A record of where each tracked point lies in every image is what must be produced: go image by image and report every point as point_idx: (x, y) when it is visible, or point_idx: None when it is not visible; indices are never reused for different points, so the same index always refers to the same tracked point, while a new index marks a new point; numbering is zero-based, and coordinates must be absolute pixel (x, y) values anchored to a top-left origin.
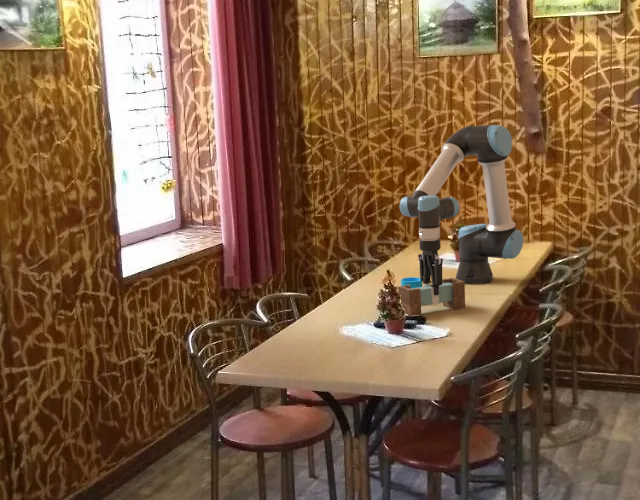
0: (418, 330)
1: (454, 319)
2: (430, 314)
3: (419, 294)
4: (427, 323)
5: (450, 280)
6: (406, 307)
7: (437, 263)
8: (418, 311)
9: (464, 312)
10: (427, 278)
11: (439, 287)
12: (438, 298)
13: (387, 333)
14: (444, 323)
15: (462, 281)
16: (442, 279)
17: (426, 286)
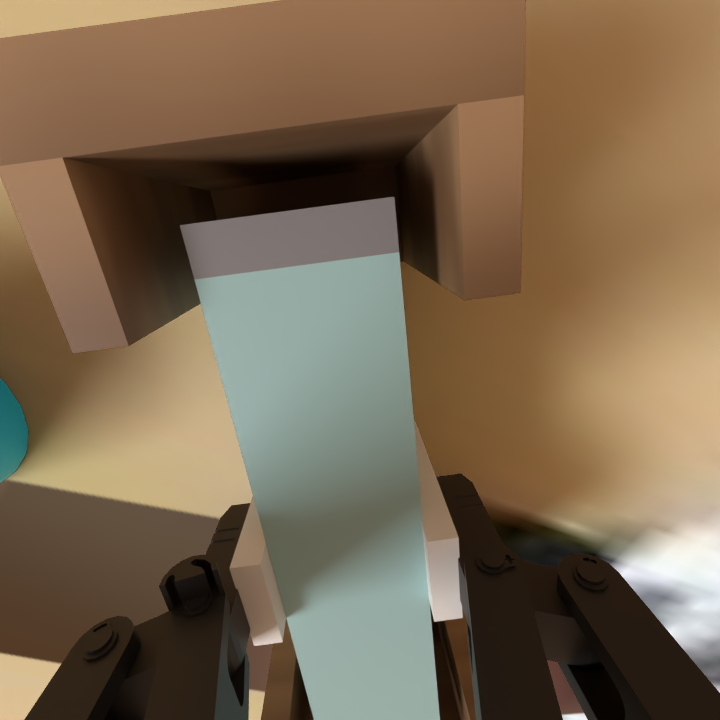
0: (695, 611)
1: (654, 372)
2: (432, 456)
3: None
4: (613, 538)
5: (88, 168)
6: None
7: None
8: None
9: (533, 212)
10: (236, 703)
11: (419, 488)
12: (421, 439)
13: None
14: (686, 462)
15: (504, 29)
16: (79, 350)
17: (307, 611)
